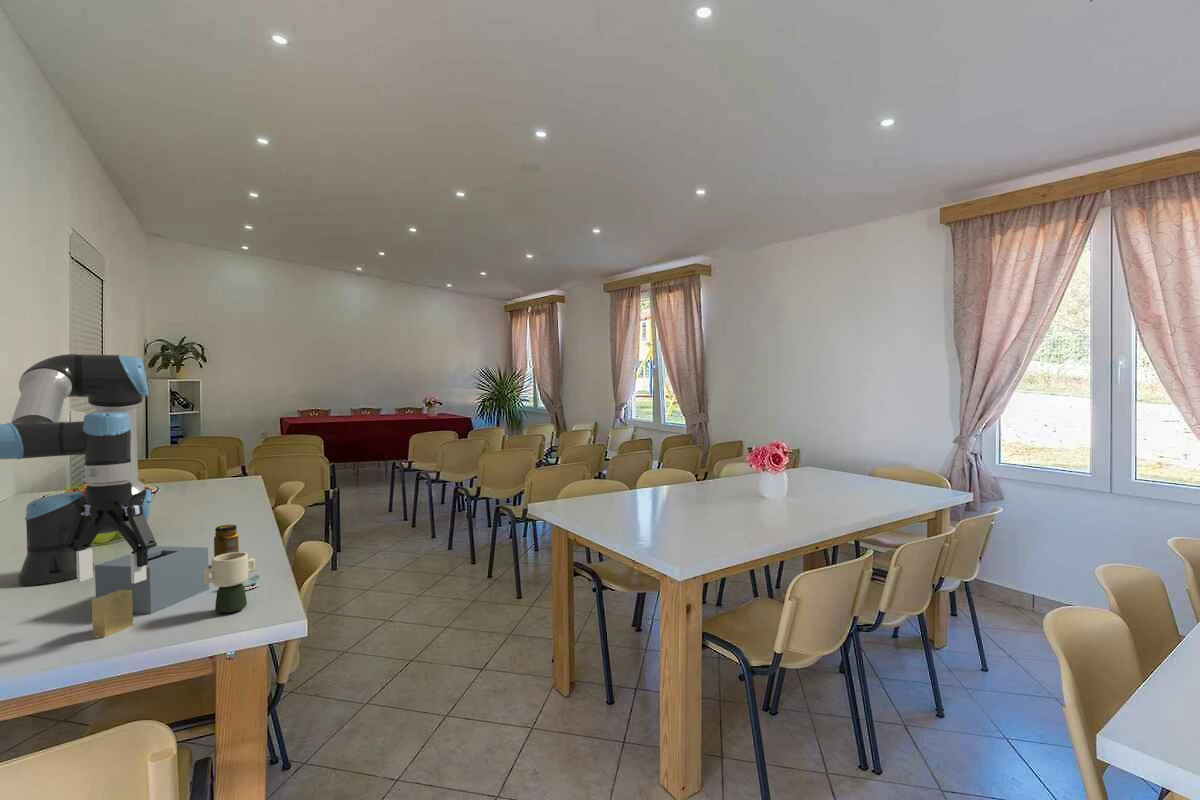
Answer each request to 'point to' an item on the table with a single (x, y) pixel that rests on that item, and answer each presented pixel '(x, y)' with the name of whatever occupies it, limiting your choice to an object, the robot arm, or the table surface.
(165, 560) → the box
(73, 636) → the table surface
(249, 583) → the pacifier
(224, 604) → the character mug
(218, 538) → the condiment
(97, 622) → the gold brushed block
